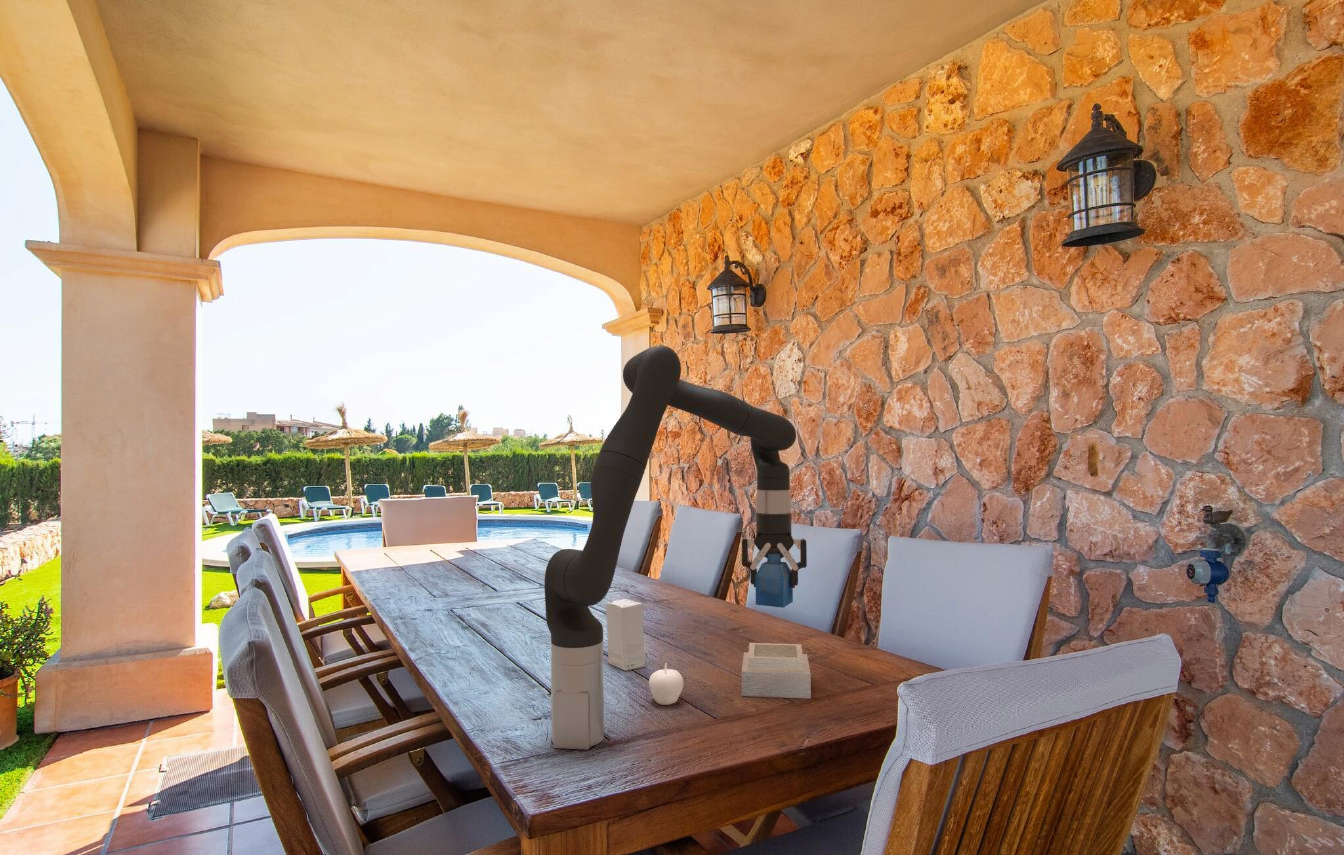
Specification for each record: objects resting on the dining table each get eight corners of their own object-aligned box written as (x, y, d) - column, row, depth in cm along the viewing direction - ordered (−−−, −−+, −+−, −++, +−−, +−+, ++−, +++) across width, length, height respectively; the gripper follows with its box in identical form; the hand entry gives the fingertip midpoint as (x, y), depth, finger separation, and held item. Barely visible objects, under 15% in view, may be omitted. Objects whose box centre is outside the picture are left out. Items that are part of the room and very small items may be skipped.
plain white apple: (646, 707, 143) (645, 666, 143) (652, 695, 150) (651, 656, 150) (681, 709, 142) (681, 668, 142) (685, 696, 149) (685, 657, 149)
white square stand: (810, 698, 147) (810, 661, 147) (741, 696, 149) (741, 659, 149) (807, 676, 161) (806, 642, 161) (744, 674, 163) (743, 641, 163)
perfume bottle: (755, 604, 154) (755, 548, 155) (765, 599, 160) (765, 544, 160) (783, 607, 151) (782, 550, 152) (792, 601, 157) (792, 546, 157)
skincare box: (645, 667, 169) (645, 603, 169) (623, 672, 166) (622, 606, 166) (627, 658, 176) (627, 597, 176) (605, 663, 173) (605, 600, 173)
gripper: (739, 512, 153) (740, 589, 153) (808, 512, 151) (809, 591, 151) (740, 509, 161) (741, 583, 160) (806, 509, 159) (807, 584, 158)
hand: (774, 587), depth 156 cm, fingers closed on perfume bottle, 7 cm apart
